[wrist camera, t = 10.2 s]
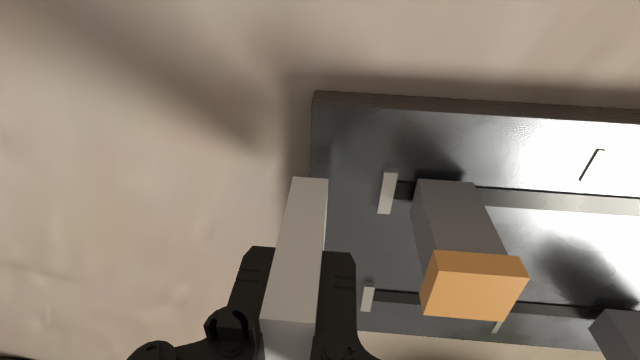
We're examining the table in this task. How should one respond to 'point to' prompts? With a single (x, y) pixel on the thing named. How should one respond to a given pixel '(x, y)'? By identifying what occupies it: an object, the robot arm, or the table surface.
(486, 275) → the fader orange
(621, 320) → the fader white
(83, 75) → the table surface
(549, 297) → the console
